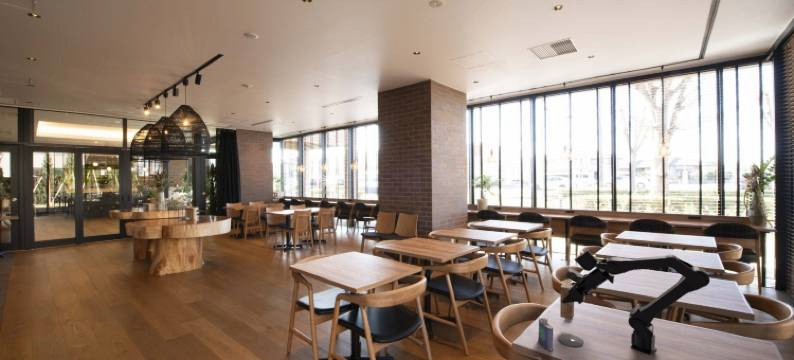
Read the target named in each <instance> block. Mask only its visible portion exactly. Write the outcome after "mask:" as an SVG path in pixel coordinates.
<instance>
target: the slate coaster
mask: <svg viewBox="0 0 794 360" xmlns="http://www.w3.org/2000/svg"><path fill="white" fill-rule="evenodd" d="M557 340H558V342H560V343H561V344H563V345H564V346H568V347H571V348H572V347H573V348H579V347H582V346H583V345H584V341H583V339H582V338H580V337H579V336H578V335H574V334H568V333H562V334H559V335H558V337H557Z"/></svg>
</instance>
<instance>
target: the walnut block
mask: <svg viewBox="0 0 794 360" xmlns="http://www.w3.org/2000/svg"><path fill="white" fill-rule="evenodd" d="M571 287H572V284H568V283H562V284H561V286H560V304H559V306H560V308H559V309H560V311H559V313H560V314H559V315H560V318H562V319H567V320H571V321H573V318H574V317H575V302H571V303H563V302H562V300H563V299H564V298H565V297H566V296H567V295H568V294H569V292H568V290H569V288H571Z"/></svg>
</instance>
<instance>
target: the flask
mask: <svg viewBox="0 0 794 360" xmlns="http://www.w3.org/2000/svg"><path fill="white" fill-rule="evenodd" d="M548 321H549V318H545V317H540V318H539V319H538V343H539V344H540V346H542V347H543V348H544V350H546V351H548V352H553V351H554V327H553V325H550V324H549V322H548Z"/></svg>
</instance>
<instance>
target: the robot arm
mask: <svg viewBox="0 0 794 360" xmlns="http://www.w3.org/2000/svg"><path fill="white" fill-rule="evenodd" d="M574 261H575V262H576V263H577V264H578V266H580V268H581V269H582V270H583V271H586V272H588V273H585V274H582V273H580V272H579V271H577V270H575V269H573V268H571V267H569V268H568V269H567V271H566V273H565V275H564V277H565V278H567V279H568V280H570V281H573V282H572V284H571V285H572V287H571V288H569V290H568V292H569V294H568V295H567V296H566V297H565V298H564V299H563V300H562V302H563V303H571V302H574V303H577V304H578V305H581V304H583V303H584V302H585V299H586V296H588V295H589V294H590V293H591V292H592V291H593V290H594V291H595V290H597V288H598V287H599V286H601V285H602V284H604V283H605V282H606V281H609V282H610V284H614V283H615V276H617V275H618V276H619V275H620V274H621V275H622V274H625V273H628V272H632V271H641V270H653V269H654V270H655V269H666V268H668V269H669V268H670V269H672V270H674V271H675V272H677V273H678V274H679V275H681V276H680V278H679V280H678V281H677V282H676V283H675V284H674V285H671V287H670V288H668V289H667V290H665V291H663V292H662V293H661V294H660V295H658V296H657V297H656V298H655V299H653V300H652V301H650V302H648V304H646V305H643V306H642V305H641V304H640V303H637V304H636V306H634V307H633V308H631V309H630V311H629V315H628V319H627V320H628V326H629V327H631V329H633V330H632V333H631V335H630V337H631V338H630V339H631V340H630V342H631V343H630V344H631V345H630V348H632V349H634V350H636V351H640V352H642V353H644V354H647V355H651V354H653V353H654V352H656V351H657V347H655V345H656V344H655V343H656V334H654V324H653V323H652V322H653V321H654V319H655V318H656V316H658V315H659V314H660V313H662V312H663V311H664V310H666V309H667V308H669V307H670V306H671V305H673V304H675V303H676V302H678V300H680V299H681V298H682V297H684V296H685V295H687V294H689V293H692V292H695V291H698V290H700V289H703V288H705V287H707V286H708V285H709V284H710V279H711V278H710V276H709V275H708V273H707V270H705V269H704V268H703V267H701V266H698V265H697V266H696V265H695V266H694V265H693V264H691V263H690V262H687V261H685V260H683V259H681V258H680V257H677V256H676V255H674V254H667V255H657V256H649V257H637V258H628V257H627V258H626V257H621V256H619V257H618V256H611V257H609V258H596V257H595V256H594V254H592V252H591V251H590V250H589V249H587V250H586V251H584V252H583V253H580V254H579V255H577V257H575V258H574Z"/></svg>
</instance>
